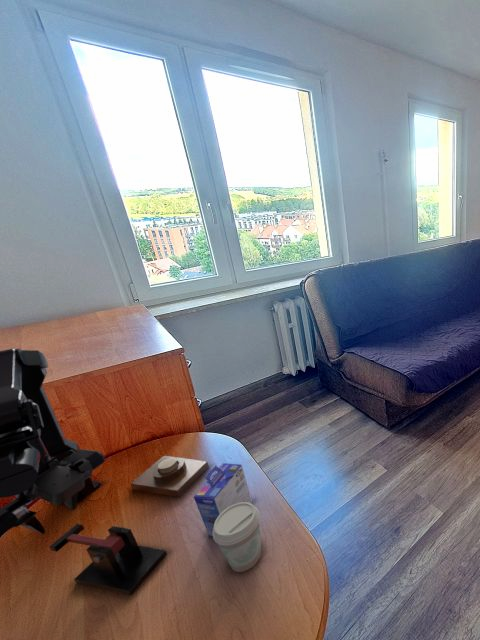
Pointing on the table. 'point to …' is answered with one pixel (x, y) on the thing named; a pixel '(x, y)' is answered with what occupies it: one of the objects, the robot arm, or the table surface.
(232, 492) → the ink cartridge box
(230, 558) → the coffee cup
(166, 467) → the bell button
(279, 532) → the table surface
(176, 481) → the bell block
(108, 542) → the red lever handle
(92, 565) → the lever stand
